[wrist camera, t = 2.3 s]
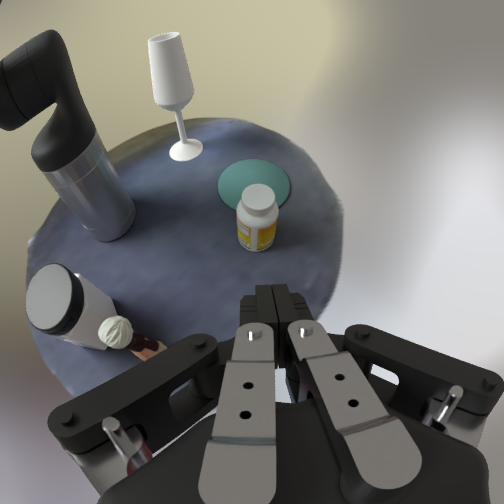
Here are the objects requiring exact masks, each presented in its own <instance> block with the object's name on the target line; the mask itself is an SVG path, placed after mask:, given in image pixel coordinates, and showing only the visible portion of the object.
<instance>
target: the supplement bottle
mask: <svg viewBox="0 0 504 504" xmlns="http://www.w3.org/2000/svg"><path fill="white" fill-rule="evenodd" d="M236 213H237V230H238V239H239V242H240V244H241V245H242V246H243V247H244V248H245V249H247V250H249V251H253V252H259V251H263V250H265V249H267V248H268V247H270V246H271V244H272V243H273V241H274V237H275V231H276V225H277V219H278V213H279V210H278V206H277V203H276V202H275V194H274V192H273V190H272V189H271V188H270V187H268V186H266V185H264V184H252V185H250V186H248V187H246V188H245V189H244V191H243V193H242V199H241V200H240V201H239V203H238V205H237V211H236Z"/></svg>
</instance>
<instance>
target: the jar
mask: <svg viewBox="0 0 504 504" xmlns="http://www.w3.org/2000/svg"><path fill="white" fill-rule="evenodd" d="M25 309H26V314H27V317H28V319H29V321H30V323H31V324H32V325H33V326H34V327H35V328H36V329H38V330H40V331H41V332H43V333H45V334H48V335H51V336H53V337H56V338H59V339H61V340H64V341H66V342H69V343H73V344H76V345H79V346H82V347H87V348H93V349H99V350H106V348H107V347H108V345H107V344H105V343H104V342H102V341H101V340H100V338H99V336H98V331H99V328H100V326H101V324H102V323H103V322H104V321H105V320H106V319H107V318H111V317H115V316H118V315H117V313H116V310H115V307H114V304H113V301H112V298H110V297H109V296H108V295H106V294H105V293H104V292H102V291H101V290H100V289H98V288H97V287H96V286H94V285H93V284H92V283H91V282H89V281H88V280H87V279H85V278H84V277H83V276H82V275H80V274H77V273H72V272H71V271H70V270H69V269H67V268H66V267H65V266H63V265H61V264H58V263H51V264H48V265H46V266H44V267H42V268H41V269H40V270H39V271H38V272H37V273H36V274H35V275H34V276H33V278H32V280H31V281H30V284H29V286H28V289H27V292H26V298H25Z"/></svg>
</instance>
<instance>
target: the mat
mask: <svg viewBox="0 0 504 504" xmlns="http://www.w3.org/2000/svg"><path fill="white" fill-rule="evenodd" d="M252 184H264V185H266V186H268V187H270V188H271V189H272V190H273V192H274V194H275V202H276V203H277V206H278V207H279V206H281V205H282V204H283V203H284V201H285V200H286V199H287V197H288V194H289V190H290V183H289V179H288V177H287V175H286V173H285V172H284V171H283V170H282V169H281V168H280V167H278V166H277V165H275V164H273V163H271V162H268V161H265V160H260V159H247V160H242V161H239V162H236V163H234V164H232V165H230V166H229V167H227V168H226V169H225V170H224V171H223V173H222V174H221V176H220V178H219V180H218V192H219V195H220V197H221V199H222V200H223V202H224V203H225V204H226V205H227V206H229V207H230V208H232V209H234V210H236V211H237V205H238V203H239V201H240V200H241V199H242V193H243V191H244V189H245V188H246V187H248V186H250V185H252Z"/></svg>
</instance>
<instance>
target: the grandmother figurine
mask: <svg viewBox="0 0 504 504" xmlns="http://www.w3.org/2000/svg"><path fill="white" fill-rule="evenodd" d="M98 336H99V338H100V340H101V341H102V342H104V343H105V344H107V345H108V346H110V347H112V348H115V349H122V348H127V349H129V350H130V351H131V352H133V353H134V354H135V355H136V356H138V357H139V358H140V359H142V360H143V361H146V360H147V359H149V358H151V357H153V356H154V355H156V354H158V353H160V352H162V351H163V350H165V349H167V347H166V346H165V345H164V344H163V343H162V342H161V341H154V340H148V339H147V338H145V337H144V336H143V335H142V334H141V333H140V332H137V331H135V330H133V329H132V327H131V323H130V322H129V320H128V319H126V318H124V317H122V316H115V317H111V318H107V319H106V320H105V321H104V322H103V323H102V324H101V326H100V328H99V331H98Z"/></svg>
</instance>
